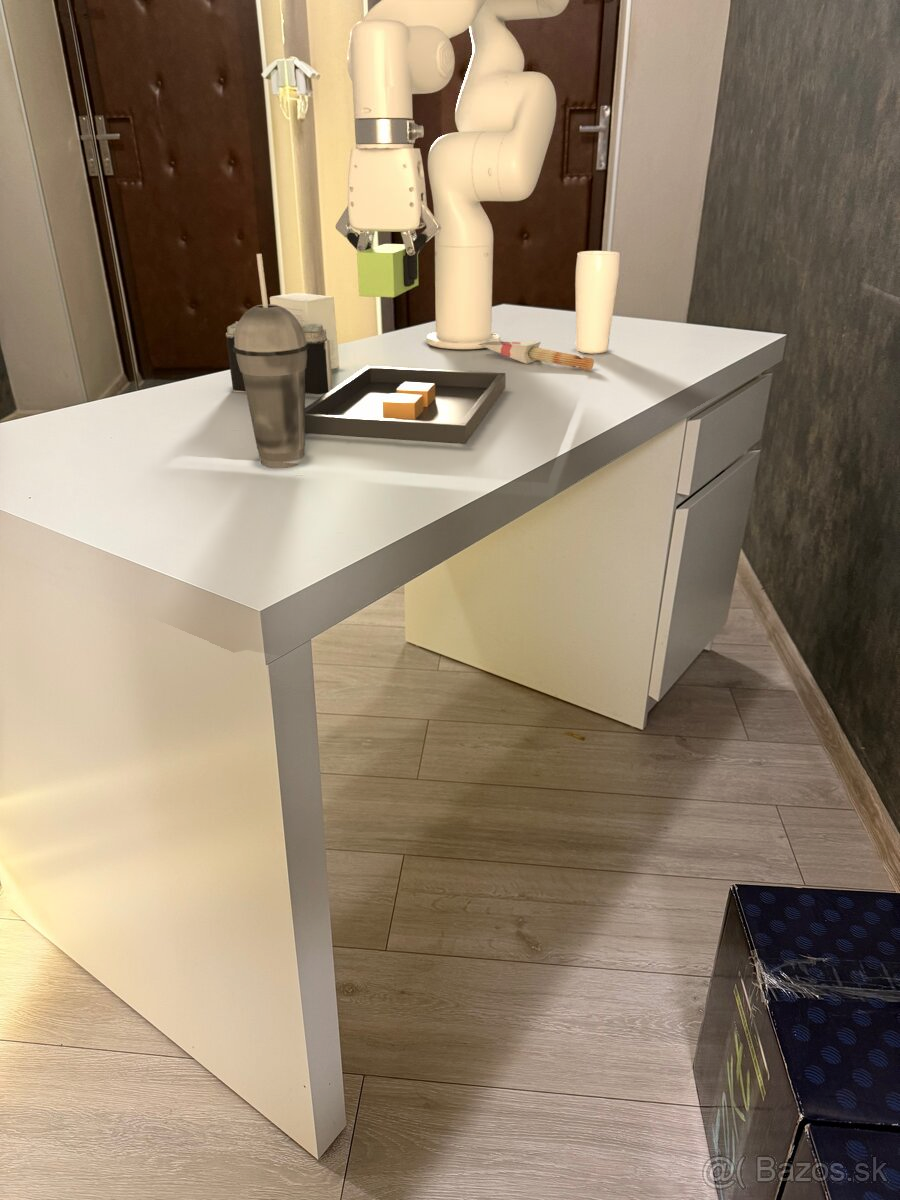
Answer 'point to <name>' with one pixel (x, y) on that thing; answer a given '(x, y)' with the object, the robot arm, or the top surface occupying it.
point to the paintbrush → (538, 354)
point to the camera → (316, 367)
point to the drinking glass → (595, 299)
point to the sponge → (382, 271)
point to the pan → (442, 421)
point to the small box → (313, 315)
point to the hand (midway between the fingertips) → (389, 283)
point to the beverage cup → (273, 378)
